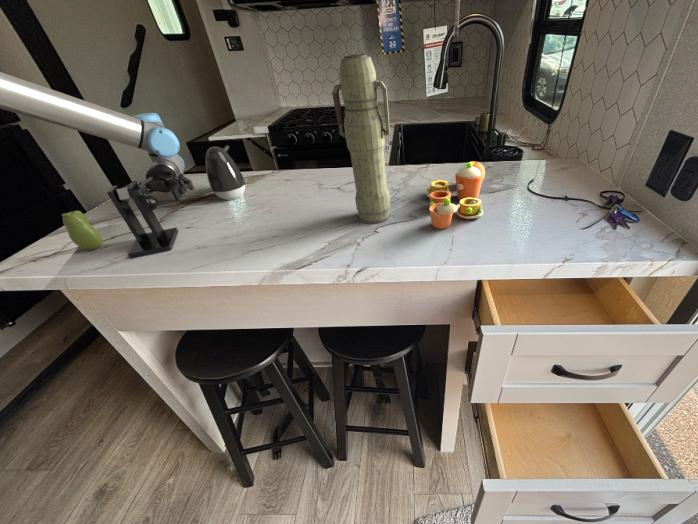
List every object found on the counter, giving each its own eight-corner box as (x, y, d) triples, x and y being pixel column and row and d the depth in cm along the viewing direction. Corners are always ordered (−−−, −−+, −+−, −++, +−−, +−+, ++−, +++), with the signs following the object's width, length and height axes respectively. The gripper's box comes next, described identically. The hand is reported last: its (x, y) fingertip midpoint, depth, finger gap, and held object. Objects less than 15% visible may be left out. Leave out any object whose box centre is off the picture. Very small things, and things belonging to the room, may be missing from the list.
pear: (79, 255, 84) (50, 218, 78) (83, 246, 88) (56, 210, 81) (105, 249, 86) (79, 212, 79) (108, 240, 89) (83, 205, 83)
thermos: (355, 210, 94) (330, 56, 72) (397, 208, 93) (385, 51, 71) (350, 224, 87) (321, 59, 65) (395, 222, 86) (382, 54, 64)
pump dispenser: (256, 192, 110) (239, 142, 101) (232, 204, 103) (211, 153, 94) (233, 189, 114) (215, 141, 104) (209, 201, 107) (186, 150, 97)
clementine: (466, 192, 98) (468, 167, 94) (453, 185, 103) (454, 161, 99) (488, 186, 101) (491, 161, 96) (474, 179, 106) (476, 156, 101)
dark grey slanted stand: (141, 238, 89) (107, 183, 80) (178, 231, 91) (149, 176, 82) (130, 258, 81) (90, 199, 72) (171, 250, 83) (137, 191, 74)
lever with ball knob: (146, 213, 90) (141, 198, 90) (163, 210, 91) (158, 195, 90) (116, 204, 76) (110, 186, 76) (136, 200, 77) (129, 183, 77)
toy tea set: (426, 191, 101) (425, 157, 95) (479, 189, 100) (481, 155, 93) (424, 232, 81) (423, 193, 75) (489, 231, 79) (494, 191, 73)
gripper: (211, 181, 108) (204, 205, 92) (125, 196, 103) (101, 224, 87) (201, 157, 104) (191, 178, 88) (110, 171, 98) (82, 196, 82)
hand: (146, 201), depth 87 cm, fingers open, 13 cm apart
